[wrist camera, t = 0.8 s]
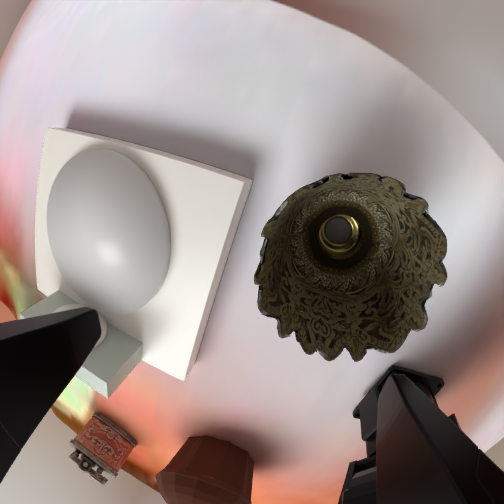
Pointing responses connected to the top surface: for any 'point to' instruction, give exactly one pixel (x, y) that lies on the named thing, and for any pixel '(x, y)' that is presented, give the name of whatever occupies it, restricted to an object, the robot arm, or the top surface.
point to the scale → (132, 248)
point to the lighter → (101, 448)
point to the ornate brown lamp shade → (350, 265)
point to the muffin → (207, 474)
